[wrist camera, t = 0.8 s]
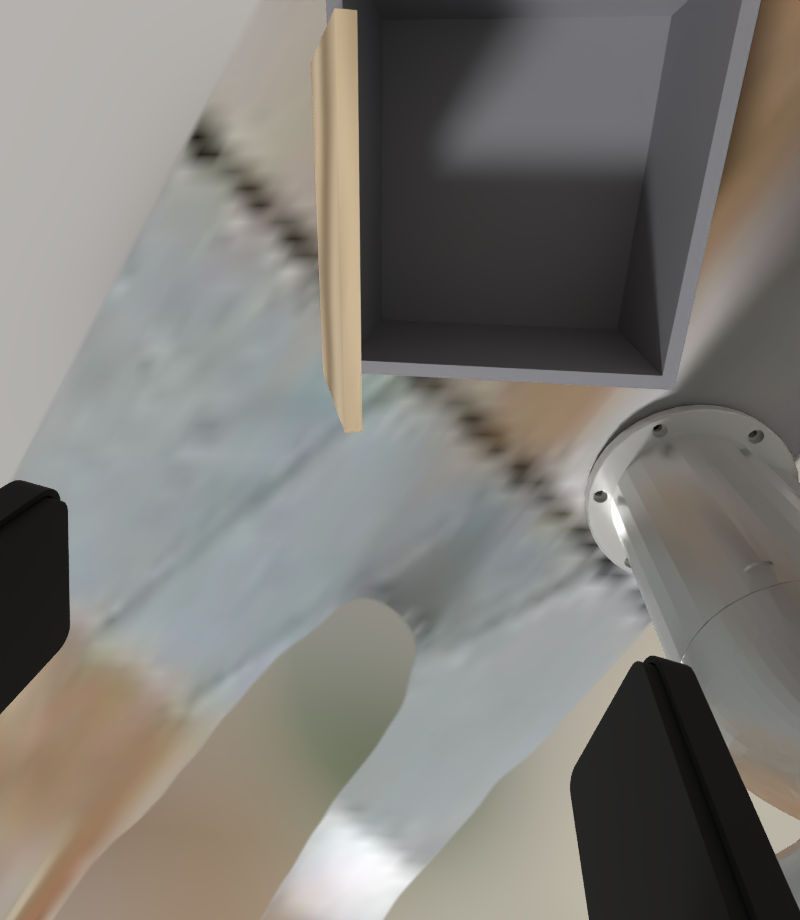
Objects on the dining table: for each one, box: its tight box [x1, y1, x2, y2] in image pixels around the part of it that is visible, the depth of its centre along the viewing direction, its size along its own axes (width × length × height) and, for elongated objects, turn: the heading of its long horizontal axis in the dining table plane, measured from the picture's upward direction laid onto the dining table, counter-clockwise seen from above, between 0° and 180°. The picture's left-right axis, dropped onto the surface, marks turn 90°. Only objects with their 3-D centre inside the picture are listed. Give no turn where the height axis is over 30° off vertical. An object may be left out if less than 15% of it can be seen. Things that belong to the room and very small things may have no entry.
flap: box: [311, 8, 362, 433], centre depth 21 cm, size 8×12×1 cm
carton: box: [326, 0, 761, 390], centre depth 27 cm, size 15×16×10 cm
